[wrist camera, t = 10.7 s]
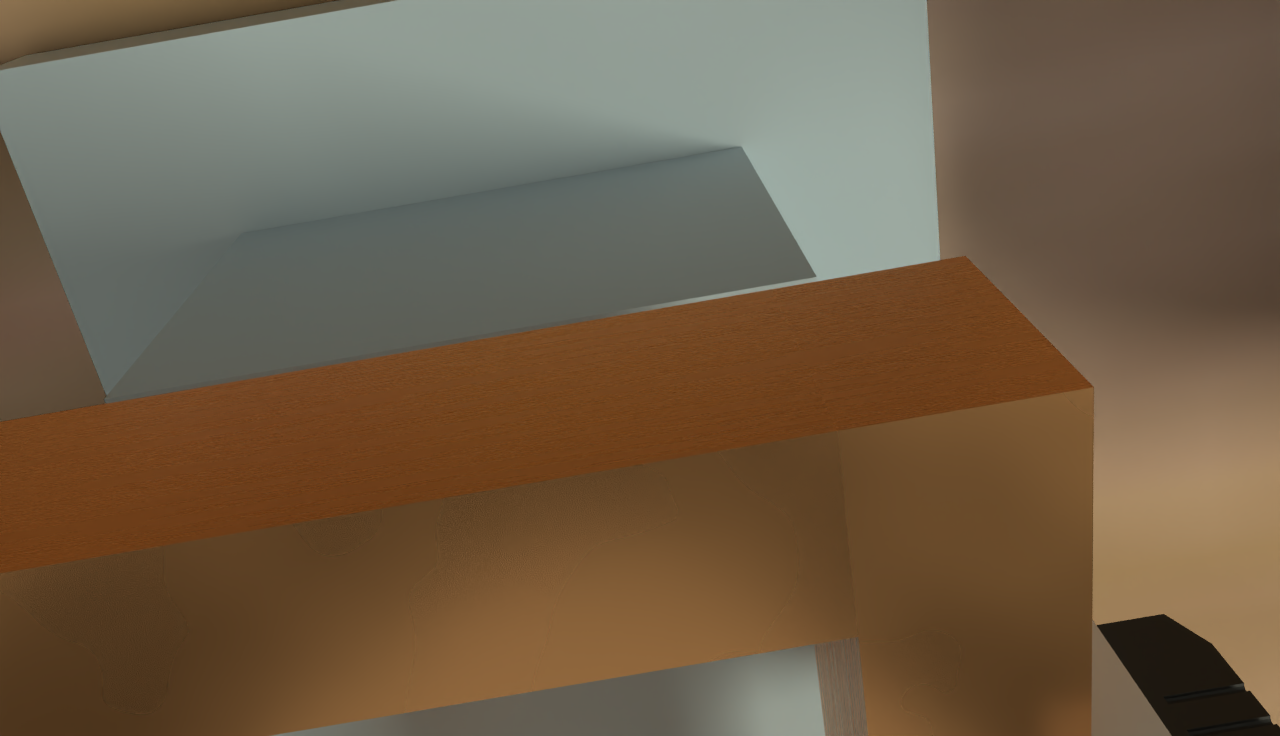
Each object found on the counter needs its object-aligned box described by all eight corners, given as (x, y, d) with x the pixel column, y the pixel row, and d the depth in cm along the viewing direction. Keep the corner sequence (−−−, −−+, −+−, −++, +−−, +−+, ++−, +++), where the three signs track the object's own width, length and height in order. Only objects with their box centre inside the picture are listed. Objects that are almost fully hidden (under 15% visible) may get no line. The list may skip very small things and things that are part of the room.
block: (25, 55, 17) (-300, 183, 11) (893, -97, 17) (1091, -61, 10) (280, 725, 22) (166, 1074, 16) (936, 615, 22) (1084, 923, 16)
